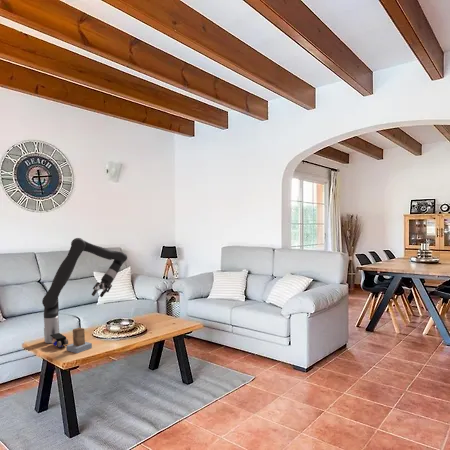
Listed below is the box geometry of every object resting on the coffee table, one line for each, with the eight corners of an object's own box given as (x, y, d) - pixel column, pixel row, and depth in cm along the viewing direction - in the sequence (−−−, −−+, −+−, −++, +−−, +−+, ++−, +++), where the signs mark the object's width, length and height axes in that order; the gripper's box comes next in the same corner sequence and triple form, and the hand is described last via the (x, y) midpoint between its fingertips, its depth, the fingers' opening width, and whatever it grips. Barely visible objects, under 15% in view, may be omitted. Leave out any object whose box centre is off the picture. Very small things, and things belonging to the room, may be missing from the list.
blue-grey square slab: (66, 350, 245) (66, 345, 245) (81, 345, 254) (81, 340, 254) (77, 353, 239) (76, 348, 239) (91, 347, 248) (91, 343, 248)
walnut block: (73, 345, 245) (72, 329, 245) (80, 342, 250) (79, 327, 249) (78, 346, 243) (77, 330, 242) (84, 343, 247) (84, 328, 247)
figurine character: (69, 349, 251) (59, 342, 261) (69, 338, 250) (59, 331, 260) (59, 352, 246) (49, 344, 256) (59, 341, 245) (49, 333, 255)
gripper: (99, 273, 273) (86, 292, 263) (112, 274, 265) (100, 293, 256) (105, 279, 277) (93, 298, 268) (119, 280, 269) (106, 300, 260)
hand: (96, 296), depth 262 cm, fingers open, 8 cm apart
